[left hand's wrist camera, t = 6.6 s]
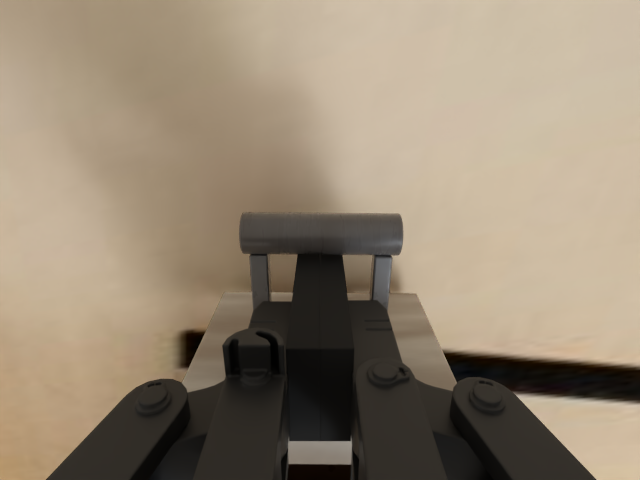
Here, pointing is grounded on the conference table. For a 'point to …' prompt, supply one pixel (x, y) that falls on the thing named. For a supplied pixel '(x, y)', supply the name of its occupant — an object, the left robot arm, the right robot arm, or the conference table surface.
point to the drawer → (403, 308)
